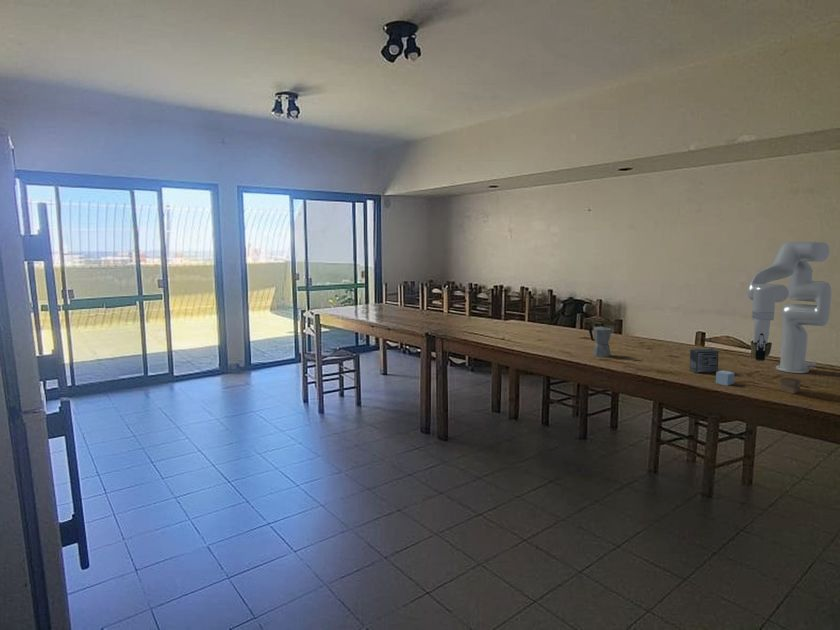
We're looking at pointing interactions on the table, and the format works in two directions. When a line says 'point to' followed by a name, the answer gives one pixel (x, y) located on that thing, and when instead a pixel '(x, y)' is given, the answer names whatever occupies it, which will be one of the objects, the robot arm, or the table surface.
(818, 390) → the table surface
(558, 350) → the table surface
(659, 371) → the table surface
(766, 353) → the cup
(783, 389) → the walnut cube
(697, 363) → the small box
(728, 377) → the slate-blue cube
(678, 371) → the table surface
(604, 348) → the coffeepot
